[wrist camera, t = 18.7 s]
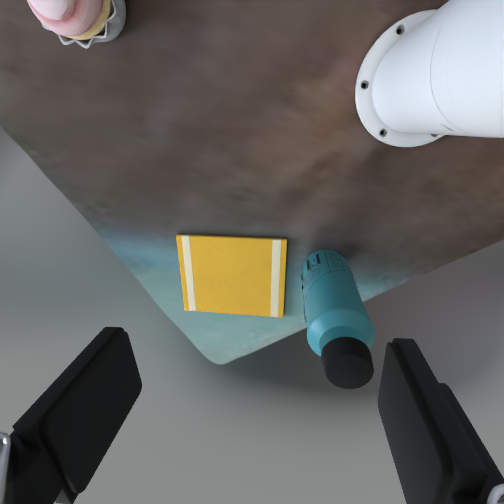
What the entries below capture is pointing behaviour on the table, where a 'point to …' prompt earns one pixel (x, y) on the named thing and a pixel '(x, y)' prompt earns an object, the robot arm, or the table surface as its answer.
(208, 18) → the table surface
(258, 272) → the towel
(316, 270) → the beverage bottle
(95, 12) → the cupcake
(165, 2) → the table surface
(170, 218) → the table surface
